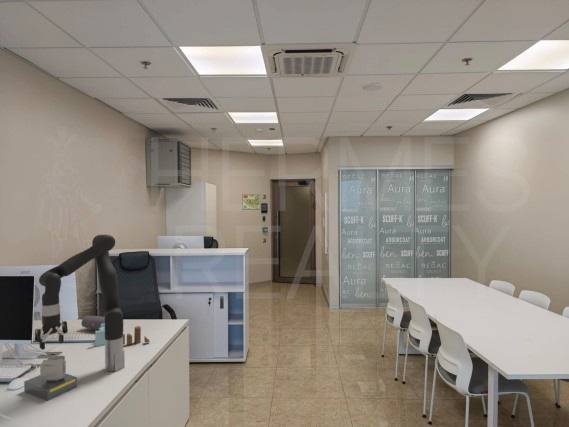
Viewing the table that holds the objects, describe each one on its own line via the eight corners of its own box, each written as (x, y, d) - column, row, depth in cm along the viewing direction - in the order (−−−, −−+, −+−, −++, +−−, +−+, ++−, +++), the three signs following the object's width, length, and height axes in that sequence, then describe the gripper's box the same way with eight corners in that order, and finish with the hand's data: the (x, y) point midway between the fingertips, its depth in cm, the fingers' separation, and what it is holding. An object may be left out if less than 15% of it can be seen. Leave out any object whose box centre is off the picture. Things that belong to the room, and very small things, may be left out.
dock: (77, 387, 176) (77, 377, 176) (47, 400, 164) (47, 390, 163) (53, 379, 185) (53, 369, 184) (24, 391, 172) (24, 381, 172)
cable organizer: (46, 376, 176) (46, 355, 176) (68, 376, 177) (68, 355, 177) (38, 382, 171) (38, 360, 170) (61, 382, 171) (61, 360, 171)
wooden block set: (119, 349, 224) (119, 333, 223) (118, 343, 231) (119, 328, 231) (149, 344, 232) (150, 329, 232) (148, 339, 240) (148, 324, 239)
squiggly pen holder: (112, 344, 232) (111, 330, 232) (95, 346, 228) (95, 332, 228) (114, 335, 249) (114, 322, 248) (98, 337, 245) (98, 323, 245)
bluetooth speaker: (80, 330, 258) (80, 317, 258) (91, 326, 267) (90, 313, 267) (105, 333, 252) (105, 319, 252) (115, 329, 261) (115, 315, 261)
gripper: (40, 318, 165) (41, 352, 165) (70, 310, 177) (71, 342, 178) (30, 316, 168) (31, 350, 168) (60, 308, 181) (61, 339, 181)
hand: (52, 346), depth 173 cm, fingers open, 8 cm apart
